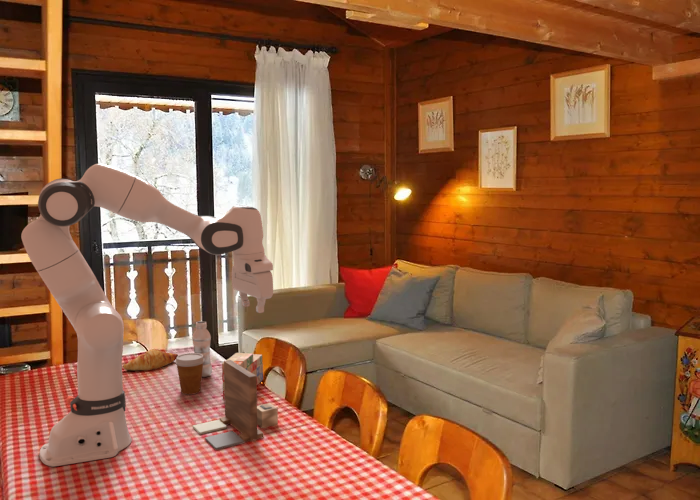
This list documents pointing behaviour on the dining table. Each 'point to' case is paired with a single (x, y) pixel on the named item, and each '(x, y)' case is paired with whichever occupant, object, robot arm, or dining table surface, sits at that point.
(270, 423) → the marked cube
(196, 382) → the disposable coffee cup
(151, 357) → the croissant
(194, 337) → the plastic bottle
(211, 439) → the slate pad
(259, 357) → the stack of blocks
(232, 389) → the walnut screen
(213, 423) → the cream rectangular pad
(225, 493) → the dining table surface
